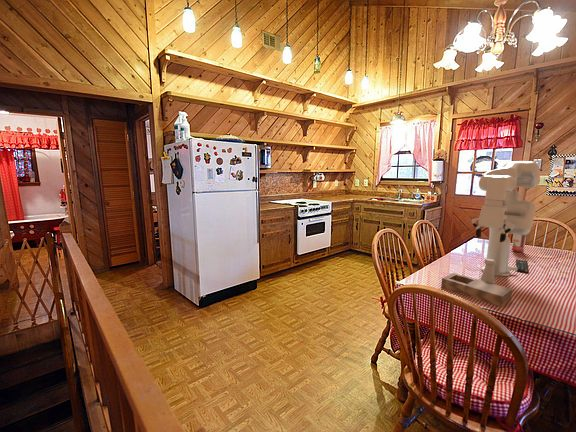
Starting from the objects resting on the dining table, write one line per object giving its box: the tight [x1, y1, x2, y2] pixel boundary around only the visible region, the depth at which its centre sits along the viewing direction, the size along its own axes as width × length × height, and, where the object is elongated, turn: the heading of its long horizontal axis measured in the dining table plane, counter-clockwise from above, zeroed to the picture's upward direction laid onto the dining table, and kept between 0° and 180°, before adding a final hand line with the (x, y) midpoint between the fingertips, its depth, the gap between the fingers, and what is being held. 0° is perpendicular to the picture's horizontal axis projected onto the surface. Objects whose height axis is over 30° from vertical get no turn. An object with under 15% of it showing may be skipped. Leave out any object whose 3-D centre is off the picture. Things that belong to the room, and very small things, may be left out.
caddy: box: [440, 272, 514, 308], centre depth 130 cm, size 24×12×4 cm, turn 37°
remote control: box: [515, 258, 530, 274], centre depth 166 cm, size 5×24×1 cm, turn 142°
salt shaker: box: [479, 258, 496, 284], centre depth 138 cm, size 6×6×13 cm
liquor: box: [511, 234, 527, 254], centre depth 192 cm, size 7×7×28 cm
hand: (489, 239), depth 136 cm, fingers open, 9 cm apart
